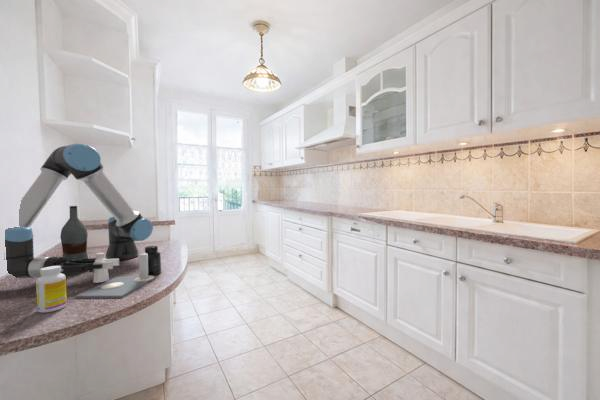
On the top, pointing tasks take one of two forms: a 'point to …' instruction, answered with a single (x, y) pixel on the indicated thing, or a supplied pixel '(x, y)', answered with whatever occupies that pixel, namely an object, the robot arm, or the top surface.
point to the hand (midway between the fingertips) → (115, 263)
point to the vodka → (74, 238)
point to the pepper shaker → (102, 273)
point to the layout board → (121, 283)
